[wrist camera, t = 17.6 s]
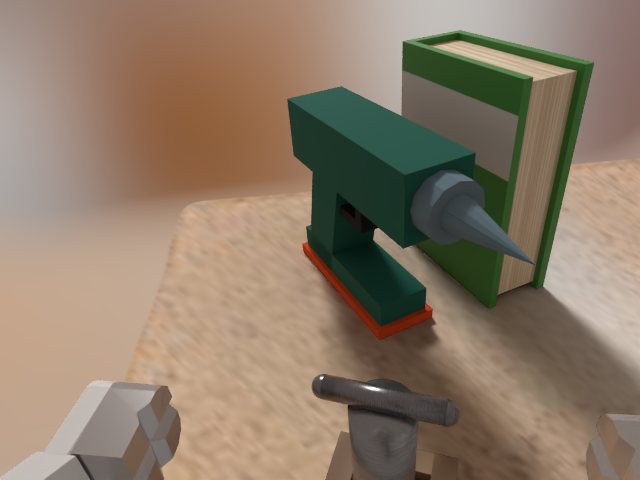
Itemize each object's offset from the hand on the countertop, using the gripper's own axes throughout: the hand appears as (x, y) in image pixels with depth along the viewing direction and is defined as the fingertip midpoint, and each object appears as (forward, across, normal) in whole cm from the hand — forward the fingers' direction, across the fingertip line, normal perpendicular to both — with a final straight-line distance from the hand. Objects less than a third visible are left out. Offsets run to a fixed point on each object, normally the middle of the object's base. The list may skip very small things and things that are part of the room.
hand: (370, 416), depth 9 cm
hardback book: (+44, +9, -28) cm, 53 cm away
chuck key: (+12, 0, -28) cm, 30 cm away
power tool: (+33, 0, -28) cm, 44 cm away
